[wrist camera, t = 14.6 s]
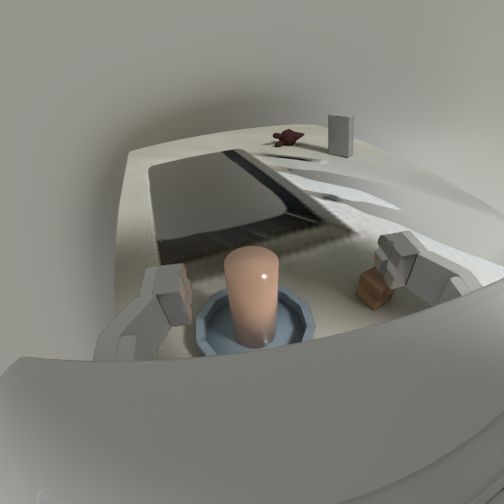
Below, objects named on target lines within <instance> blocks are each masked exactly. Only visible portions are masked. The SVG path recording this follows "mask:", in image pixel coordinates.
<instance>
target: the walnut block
mask: <svg viewBox="0 0 504 504" xmlns="http://www.w3.org/2000/svg"><path fill="white" fill-rule="evenodd" d="M394 290H395V289H390V288H389V287H388V285H387V284H386V282H385V281H384V275H383V274H381V273H380V272H379V271H378V270H377V268H376V266H375V267H373V268H372V269H370V270H368V271H366V272H364V273H362V274H361V276H360V280H359V283H358V287H357V290H356V293H355V294H356V295H357V296H358V297H359V298H360V299H361V300H362V301H363V302H364V303H365V304H367V305H368V306H369V307H370V308H371V309H372V310H373V311H374V310H376V309H377V308H379V307H380V306H382V305H383V304H384V303H386V302H387V301H389V300H390V299H391V297H392V294H393V292H394Z"/></svg>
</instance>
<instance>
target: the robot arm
mask: <svg viewBox="0 0 504 504" xmlns="http://www.w3.org/2000/svg"><path fill="white" fill-rule="evenodd" d="M378 245H379V248H378V249H377V250H376V252H375V256H374V261H375V266H376V268H377V270H378V271H379V272H380V273H381V274H383V275H384V281H385V282H386V284H387V285H388V287H389V288H390V289H395V288H400V287H404V286H406V288H407V289H409V290H410V291H412V292H413V293H414V294H416V295H417V296H418V297H420V298H421V299H422V300H424V301H425V302H427V303H428V304H429V305H431V306H432V307H430V308H428V309H425V310H422V311H419V312H416V313H412V314H409V315H406V316H403V317H400V318H396V319H393V320H390V321H386V322H383V323H379V324H376V325H372V326H368V327H365V328H361V329H357V330H353V331H349V332H345V333H341V334H336V335H332V336H328V337H323V338H319V339H314V340H309V341H304V342H299V343H294V344H288V345H283V346H277V347H271V348H265V349H259V350H252V351H245V352H238V353H230V354H222V355H213V356H203V357H193V358H180V359H166V360H151V359H152V357H153V355H154V354H155V352H156V351H157V349H158V348H159V346H160V345H161V343H162V341H163V340H164V338H165V337H166V335H167V334H168V332H169V331H170V329H171V327H174V326H182V325H190V324H192V309H191V307H190V305H191V303H192V289H191V284H190V281H189V279H188V278H186V272H187V271H186V268H185V265H184V264H183V263H180V264H172V265H163V266H156V267H148V268H147V269H146V270H145V274H144V278H143V282H142V286H141V290H140V294H139V297H135V298H134V299H133V300H132V301H131V303H130V304H129V305H128V306H127V307H126V308H125V309H124V310H123V311H122V312H121V313H120V314H119V315H118V316H117V317H116V318H115V319H114V320H113V321H112V322H111V323H110V324H109V325H108V327H107V328H106V329H105V330H104V331H103V332H102V333H101V334H100V335H99V337H98V341H97V345H96V349H95V353H94V357H93V361H74V360H55V359H42V358H34V357H21V358H19V359H18V360H17V361H15V362H14V363H13V364H12V365H11V366H10V367H9V368H8V369H7V371H5V372H4V374H3V375H2V376H1V377H0V504H504V278H502V279H500V280H498V281H496V282H494V283H491V284H489V285H487V286H485V287H483V286H482V285H481V284H480V282H479V281H478V280H477V279H476V278H475V276H474V275H473V274H472V273H471V271H469V270H467V269H465V268H463V267H461V266H460V265H458V264H456V263H454V262H452V261H450V260H448V259H446V258H444V257H442V256H440V255H438V254H436V253H434V252H432V251H428V250H427V249H426V248H425V247H424V246H423V245H422V244H421V242H420V241H419V240H418V239H417V238H416V237H415V236H414V235H413V234H412V233H411V232H410V231H403V232H399V233H393V234H386V235H381V236H380V237H379V239H378Z"/></svg>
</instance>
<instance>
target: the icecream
mask: <svg viewBox="0 0 504 504" xmlns="http://www.w3.org/2000/svg"><path fill="white" fill-rule="evenodd" d="M303 135H304V133H299V132H294V131H292V130H290V129H288V130H285V131H283V132H282V133H281V134H280V133H274V134H273V137H274V138H276V139H279V141H278V142H277V143H276V144H275V146H276V147H280V146H282V145H283V144H285V145H293V144H295V142H296V140H298V139H299V138H301V137H302V136H303Z"/></svg>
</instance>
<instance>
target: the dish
mask: <svg viewBox="0 0 504 504" xmlns="http://www.w3.org/2000/svg"><path fill="white" fill-rule="evenodd" d="M315 327H316V325H315V322H314V320H313V317H312V314H311V311H310V309H309V306H308V304H307V302H305V301H304V300H303V299H301V298H300V297H299V296H298V295H296V294H295V293H294V292H292V291H291V290H290V289H289V288H287V287H283V286H279V285H278V302H277V327H276V336H275V338H274V340H273V341H272V342H271V343H270V344H269V345H267V346H266V347H263V348H259V349H265V348H271V347H277V346H283V345H288V344H294V343H299V342H304V341H309V340H313V336H314V332H315ZM196 343H197V345H198V348H199V351H200V354H201V355H202V356H213V355H222V354H230V353H238V352H245V351H252V350H259V349H250V348H246V347H244V346H242V345H240V344H239V343H238V342H237V341H236V339H235V337H234V331H233V325H232V318H231V312H230V305H229V298H228V291H227V288H226V289H225V290H223V291H221V292H219V293H217V294H215V295H213V296H211V297H210V298H209V300H208V301H207V303H206V304H205V305H204V307H203V308H202V310H201V311H200V312H199V314H198V315H197V318H196Z"/></svg>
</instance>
